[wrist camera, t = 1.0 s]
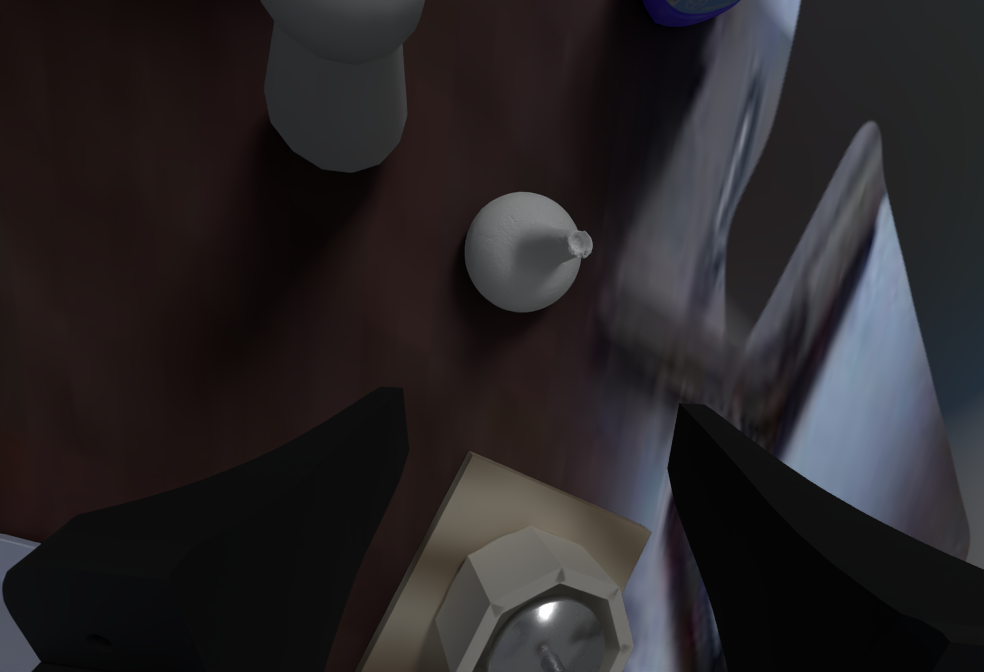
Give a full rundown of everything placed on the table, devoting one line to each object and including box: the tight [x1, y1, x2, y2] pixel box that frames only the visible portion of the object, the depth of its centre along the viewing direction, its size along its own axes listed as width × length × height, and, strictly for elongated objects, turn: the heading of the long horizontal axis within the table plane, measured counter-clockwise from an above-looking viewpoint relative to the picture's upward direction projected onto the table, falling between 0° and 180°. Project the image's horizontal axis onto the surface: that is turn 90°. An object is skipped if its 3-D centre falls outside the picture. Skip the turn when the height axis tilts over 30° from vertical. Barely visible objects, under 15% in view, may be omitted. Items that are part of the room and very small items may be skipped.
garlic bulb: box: [465, 192, 593, 312], centre depth 22 cm, size 6×6×8 cm
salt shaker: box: [260, 0, 425, 173], centre depth 16 cm, size 6×6×13 cm
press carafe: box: [435, 526, 634, 672], centre depth 25 cm, size 9×9×4 cm
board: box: [355, 451, 652, 672], centre depth 28 cm, size 14×14×1 cm
